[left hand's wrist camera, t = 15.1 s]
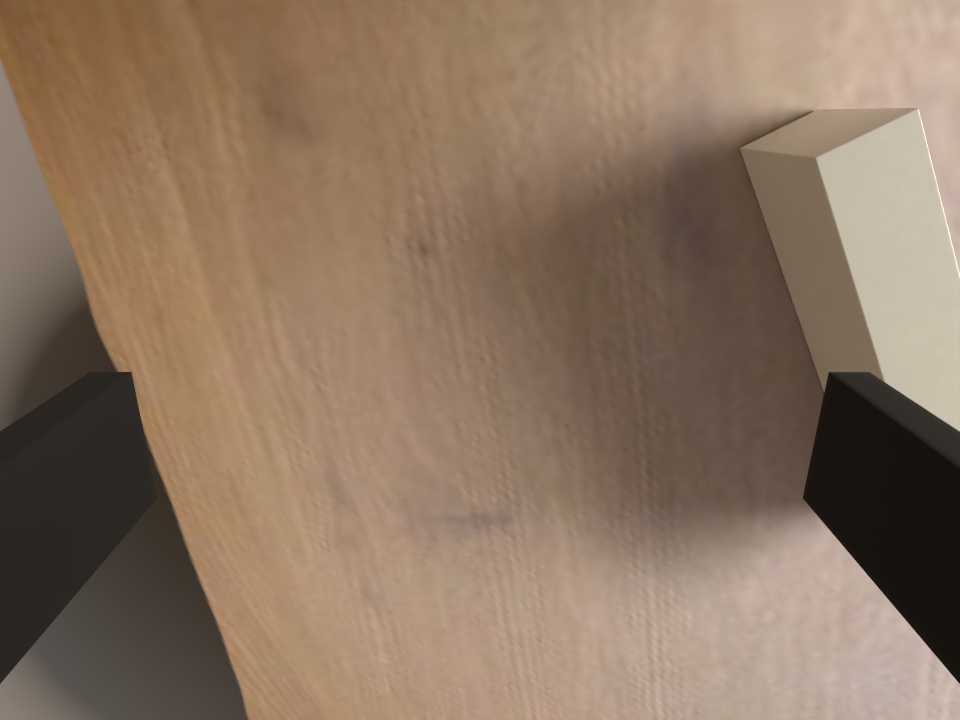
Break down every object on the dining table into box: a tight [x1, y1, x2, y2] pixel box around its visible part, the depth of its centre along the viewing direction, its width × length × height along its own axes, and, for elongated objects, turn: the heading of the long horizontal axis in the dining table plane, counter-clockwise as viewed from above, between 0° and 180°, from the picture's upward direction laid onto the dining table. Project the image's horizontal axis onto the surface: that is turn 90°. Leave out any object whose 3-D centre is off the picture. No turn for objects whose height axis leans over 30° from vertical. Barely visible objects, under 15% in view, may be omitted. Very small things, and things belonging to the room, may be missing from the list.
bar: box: [740, 108, 960, 431], centre depth 36 cm, size 26×4×9 cm, turn 27°
